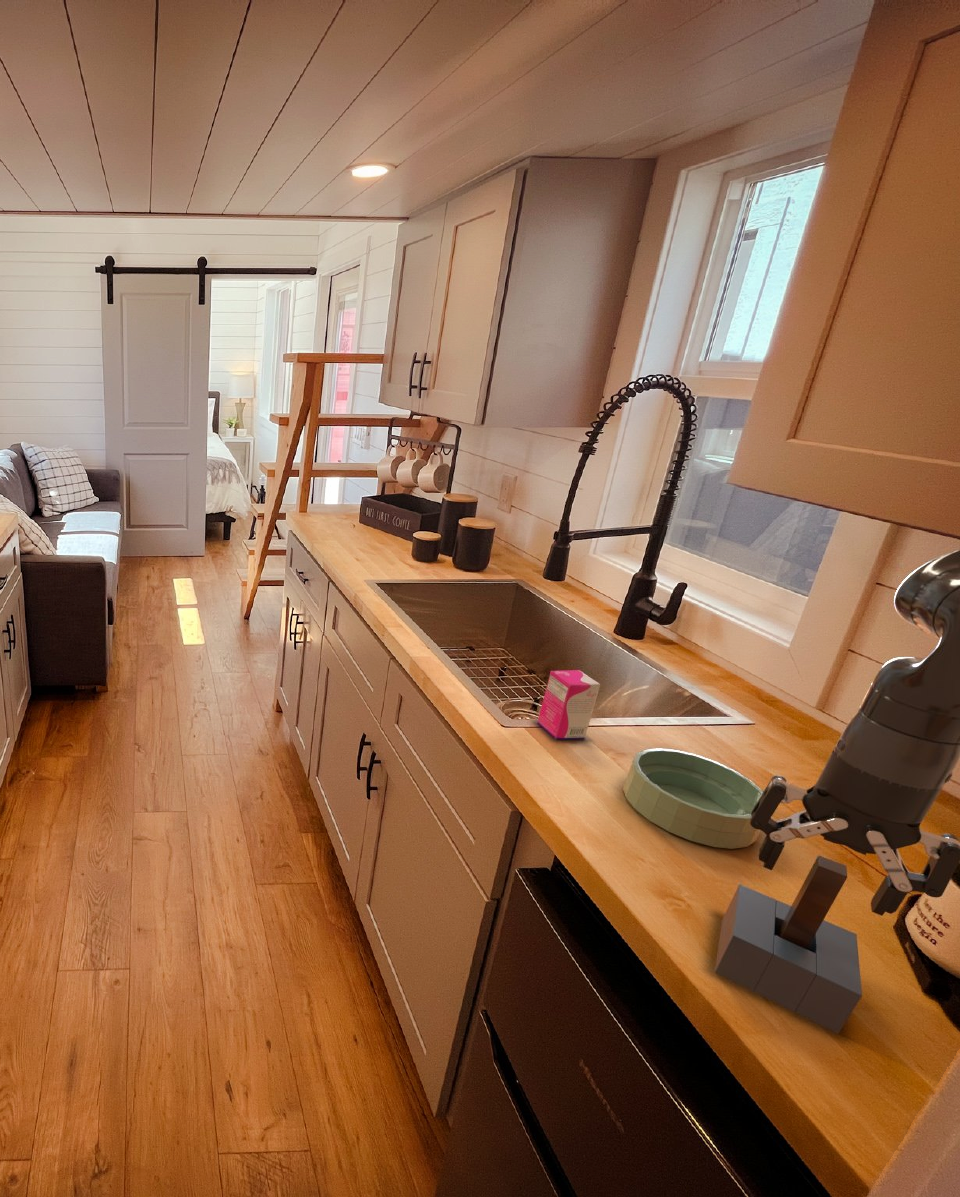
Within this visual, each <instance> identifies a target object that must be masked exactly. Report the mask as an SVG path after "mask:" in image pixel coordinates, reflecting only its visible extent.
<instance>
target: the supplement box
mask: <svg viewBox="0 0 960 1197" xmlns="http://www.w3.org/2000/svg"><path fill="white" fill-rule="evenodd" d="M600 688H601V684H600V683H599V682H598V681H596V680H594V678H591V677H590V676H589V675H587V674H586V673H584V672H583V671H581V670H580V669H575V670H571V669H570V670H551V671H550V673H549V676H548V680H547V684H546V688H545V692H544V695H543V698H542V704H541V708H540V711H539V714H538V718H537V723H536V724H537V725H539V727H540V728H542V729H543V730H544V732H546V733H547V734H548V735H549V736H551V738H552V739H553V740H555V741H580V740H581V741H582V740H583V741H585V740H586V736H587V732H588V729H589V726H590V722H591V719H592V716H593V711H594V708H595V705H596V701H597V698H598V694H599V691H600Z"/></svg>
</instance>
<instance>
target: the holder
mask: <svg viewBox="0 0 960 1197" xmlns="http://www.w3.org/2000/svg"><path fill="white" fill-rule="evenodd" d="M791 906H792V905H789V904H787V903H786V902H785V903H784V902H783V901H780V900H778V899H775V898H773V897H771V896H769V895H766V894H764V893H761V892H760V891H757V890H755V889H752V888H750V887H748V886H745V885H743V884H741V883H739V884H738V886H737V888H736V889H735V892H734V894H733V896H732V898H731V900H730V903H729V905H728V907H727V909H726V912H725V913H724V914H723V917H722V920H721V926H720V934H719V940H718V947H717V954H716V959H715V966H714V967H715V968H714V973H715V974H717V975H719V976H721V977H722V978H724V979H727V980H729V981H731V982H733V983H735V984H737V985H739V986H741V987H743V988H745V989H746V990H749V991H750V992H753V993H755V994H757V995H759V996H761V997H763V998H765V999H767V1000H769V1001H771V1002H772V1003H774V1004H776V1005H779V1006H780V1007H783V1008H784V1009H786V1010H788V1011H790V1012H793V1013H795V1014H796V1015H799V1016H800V1017H802V1018H805V1019H806V1020H808V1021H810V1022H812V1023H814V1024H817V1025H818V1026H820V1027H822V1028H824V1029H826V1030H828V1031H830V1032H832V1033H834V1034H836V1035H839V1034H840V1032H841V1030H842V1029H843V1027H844V1025H845V1024H846V1022H847V1021H848V1019H849V1018H850V1016H851V1014H852V1013H853V1011H854V1009H855V1008H856V1007H857V1005H858V1003H859V1002H860V1000H861V999H862V998H863V989H862V980H861V968H860V958H859V946H858V936H857V935H858V934H857V933H855V932H854V931H853V932H852V931H851V930H848V929H845V928H844V927H841V926H838V925H836V924H834V923H832V922H829V921H827V920H825V919H824V920H823V922H822V924H821V925H820V927H819V929H818V931H817V932H816V934H815V936H814V938H813V940H812V941H811V943H810V945H809V947H808V948H807V949H804V948H802V947H800V946H798V945H796V944H793V943H791V942H789V941H787V940H785V939H782V938H780V937H778V936H776V934H777V932H778V930H779V929H780V927H781V925H782V923H783V921H784V919H785V917H786V915H787V913H788V912H789V910H790V908H791Z"/></svg>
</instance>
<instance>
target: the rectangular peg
mask: <svg viewBox="0 0 960 1197" xmlns="http://www.w3.org/2000/svg"><path fill="white" fill-rule="evenodd" d="M847 867H848V866H847V865H845V864H843V863H841V862H838V861H835V860H832V859H830V858H827V857H824V856H822V855H817V857H816V858H815V860H814V863H813V864H812V866H811V868H810V870H809V872H808V874H807V876H806V878H805V880H804V881H803V883H802V885H801V887H800V889H799V891H798V892H797V895H796V896H795V898H794V900H793V902H792V904H791V905H790V906H791V908H790V910H789V912H788V913H787V915H786V917H785V919H784V921H783V923H782V925H781V927H780V929H779V930H778V932H777V934H776V936H778V937H780V938H782V939H785V940H787V941H789V942H791V943H793V944H796V945H798V946H800V947H802V948H804V949H807V948H808V947H809V945H810V943H811V941H812V940H813V938H814V936H815V934H816V932H817V931H818V929H819V927H820V925H821V924H822V922H823V920H825V918H826V916H827V915H828V913H829V911H830V910H831V907H832V906H833V904H834V902H835V900H836V899H837V897H838V895H839V893H840V891H841V890H842V888H843V886H844V884H845V883H846V881H847V879H848V868H847Z"/></svg>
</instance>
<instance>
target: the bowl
mask: <svg viewBox="0 0 960 1197" xmlns="http://www.w3.org/2000/svg"><path fill="white" fill-rule="evenodd" d="M622 790H623V793H624V796H625V799H626V800H627V802H628V803H629V804H630V805H631V806H632V807H633V809H634V810H635V811H636V812H638V813H639V814H640V815H641V816H643V817H645V818H646V820H648V821H650V822H651V823H653V824H654V825H656V826H658V827H660V828H662V829H663V830H665V831H667V832H669V833H670V834H674V835H676V836H678V837H681V838H683V839H685V840H688V841H690V842H694V843H697V844H700V845H706V846H709V847H713V848H720V849H721V848H722V849H730V850H731V849H732V850H733V849H741V848H747V847H750V846H751V845H752V844H754V843H755V842H756V841H757V840H758V837H759V836H760V833H761V832H762V831H761V830H758V829H755V828H753V827H752V826H751V824H750V821H751V818H752V816H751V813H752V810H753V809H754V807H755V805H756V804H757V802H758V800H759V799H760V797H761V795H762V794H763V792H764V790H763V789H762V788H760V787H759V786H758V785H757V783H755V782H754V781H753V780H751V779H750V778H749V777H746V776H745V775H743V774H742V773H740V772H739V771H737V770H735V769H733V768H732V767H729V766H726V765H725V764H722V763H721V762H718V761H716V760H713V759H710V758H708V757H704V756H702V755H698V754H695V753H692V752H687V751H682V750H677V749H669V748H662V747H661V748H660V747H657V748H656V747H655V748H648V749H643V750H642V751H638V752H637V753H635V754H634V757H633V760H632V762H631V765H630V768H629V770H628V773H627V776H626V779H625V780H624V784H623V787H622Z"/></svg>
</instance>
